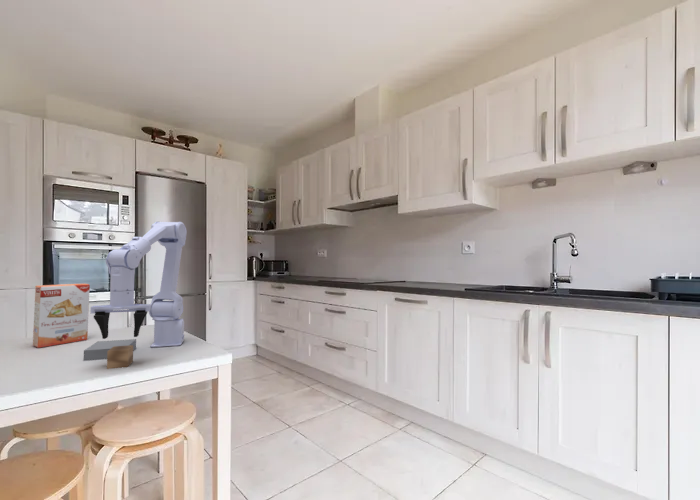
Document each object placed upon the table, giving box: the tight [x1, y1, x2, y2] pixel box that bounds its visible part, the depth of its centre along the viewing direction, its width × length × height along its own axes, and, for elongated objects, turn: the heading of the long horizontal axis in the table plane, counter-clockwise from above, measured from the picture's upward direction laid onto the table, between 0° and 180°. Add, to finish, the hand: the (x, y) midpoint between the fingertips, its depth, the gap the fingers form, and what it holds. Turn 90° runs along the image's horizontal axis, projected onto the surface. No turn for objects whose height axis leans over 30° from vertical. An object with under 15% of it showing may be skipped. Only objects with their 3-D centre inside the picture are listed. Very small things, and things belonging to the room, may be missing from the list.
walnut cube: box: [106, 345, 134, 370], centre depth 95 cm, size 5×5×5 cm
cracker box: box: [32, 283, 91, 349], centre depth 117 cm, size 14×6×21 cm, turn 148°
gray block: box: [82, 338, 137, 362], centre depth 105 cm, size 11×11×4 cm
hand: (120, 337), depth 95 cm, fingers open, 7 cm apart
